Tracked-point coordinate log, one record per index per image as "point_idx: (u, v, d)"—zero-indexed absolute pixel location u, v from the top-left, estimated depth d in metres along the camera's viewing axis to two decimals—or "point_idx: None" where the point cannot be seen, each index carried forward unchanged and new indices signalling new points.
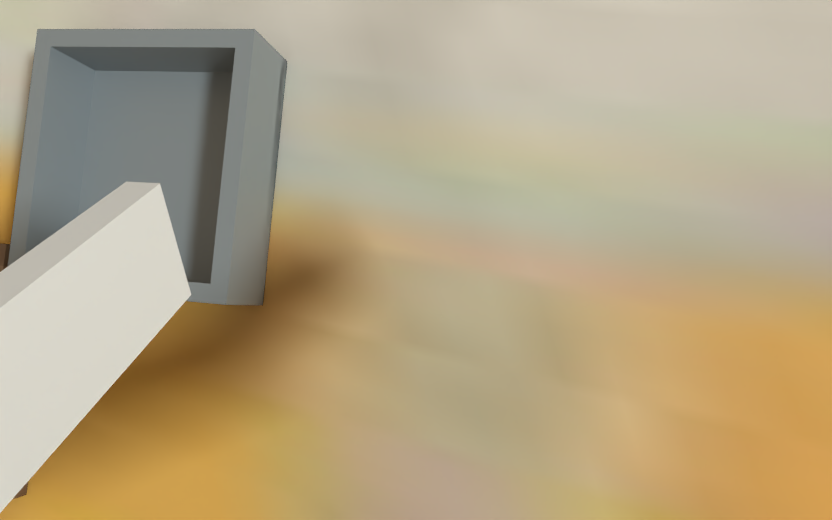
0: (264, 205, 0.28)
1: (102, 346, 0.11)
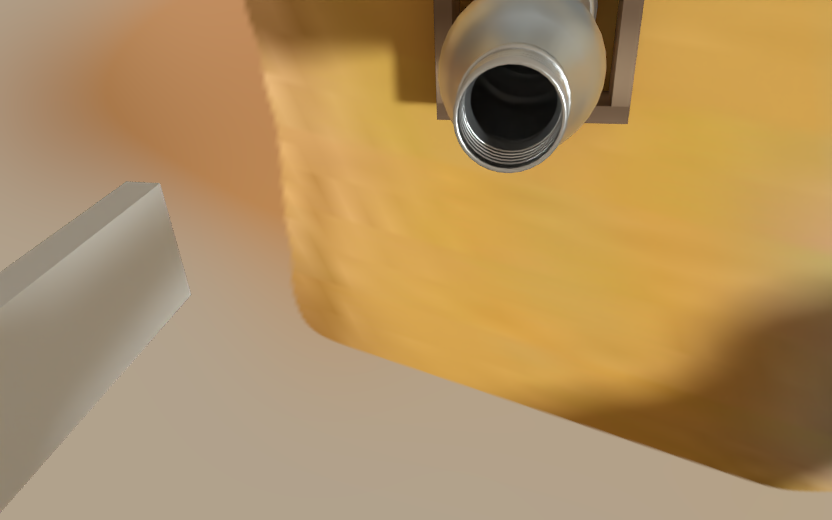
0: None
1: (102, 346, 0.11)
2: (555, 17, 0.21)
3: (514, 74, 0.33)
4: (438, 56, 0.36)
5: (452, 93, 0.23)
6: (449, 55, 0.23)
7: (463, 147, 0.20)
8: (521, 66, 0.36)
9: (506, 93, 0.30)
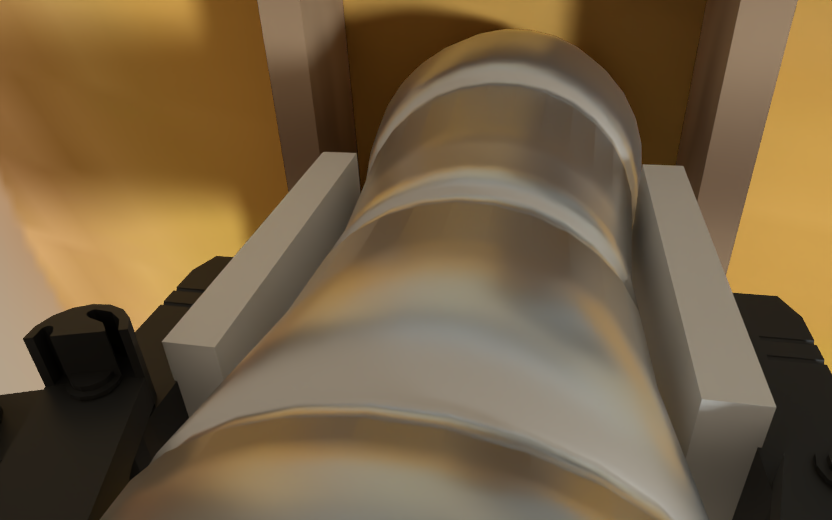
0: None
1: None
2: None
3: None
4: None
5: None
6: None
7: None
8: None
9: None
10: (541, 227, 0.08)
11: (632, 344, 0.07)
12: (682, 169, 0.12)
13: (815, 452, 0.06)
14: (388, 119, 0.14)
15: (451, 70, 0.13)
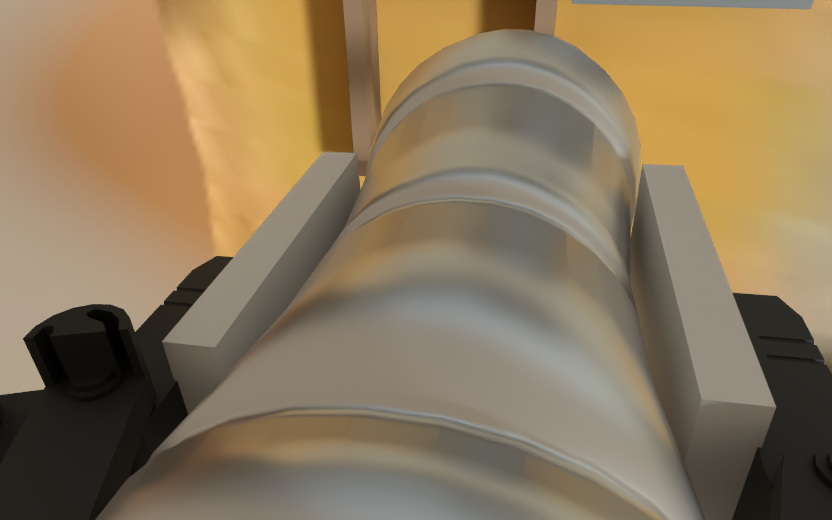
0: None
1: None
2: None
3: None
4: (354, 116, 0.36)
5: None
6: None
7: None
8: None
9: None
10: (539, 227, 0.08)
11: (629, 344, 0.07)
12: (682, 169, 0.12)
13: (815, 452, 0.06)
14: (387, 119, 0.14)
15: (450, 70, 0.13)
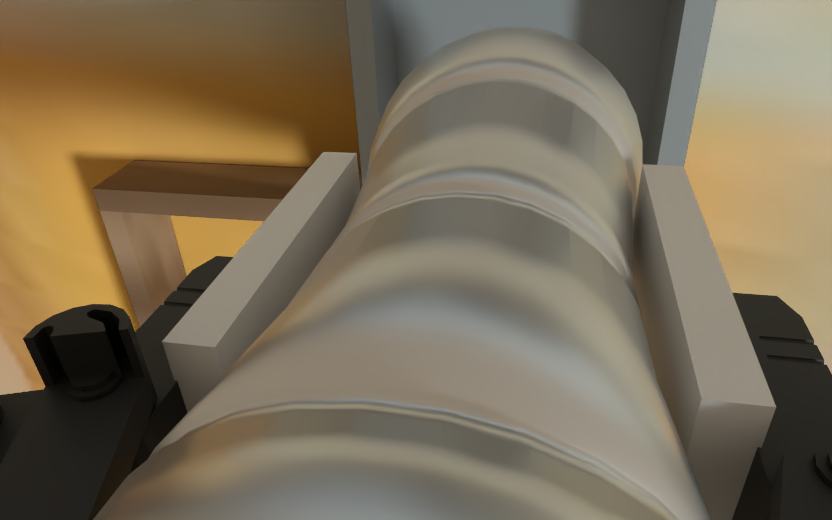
0: None
1: None
2: None
3: None
4: None
5: None
6: None
7: None
8: None
9: None
10: (541, 223, 0.08)
11: (633, 340, 0.07)
12: (682, 169, 0.12)
13: (815, 452, 0.06)
14: (388, 116, 0.13)
15: (451, 67, 0.13)
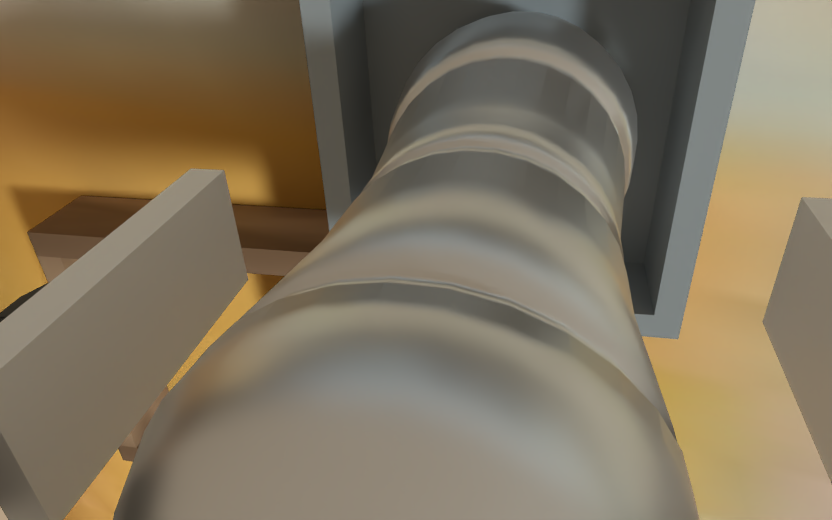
0: None
1: (175, 325, 0.12)
2: None
3: None
4: None
5: None
6: None
7: None
8: None
9: None
10: (535, 171, 0.09)
11: (607, 263, 0.09)
12: None
13: None
14: (406, 92, 0.15)
15: (463, 47, 0.14)
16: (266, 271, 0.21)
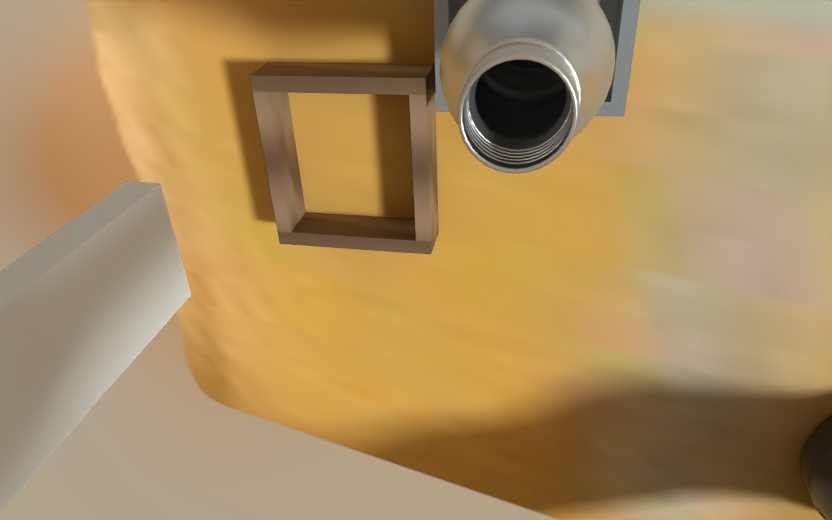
0: None
1: (102, 346, 0.11)
2: (563, 10, 0.20)
3: (515, 68, 0.32)
4: (273, 196, 0.43)
5: (455, 89, 0.22)
6: (451, 50, 0.22)
7: (468, 147, 0.19)
8: (522, 60, 0.35)
9: (508, 88, 0.29)
10: None
11: None
12: None
13: None
14: None
15: None
16: (393, 92, 0.37)
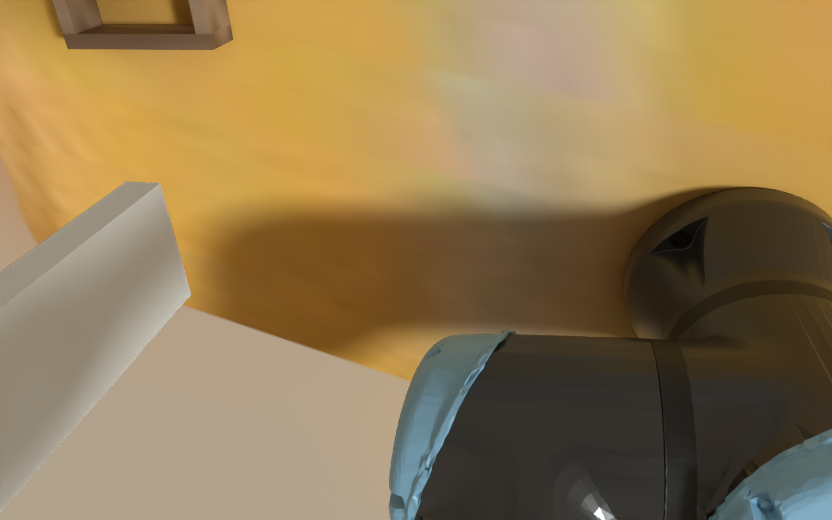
0: None
1: (102, 346, 0.11)
2: None
3: None
4: None
5: None
6: None
7: None
8: None
9: None
10: None
11: None
12: None
13: None
14: None
15: None
16: None
